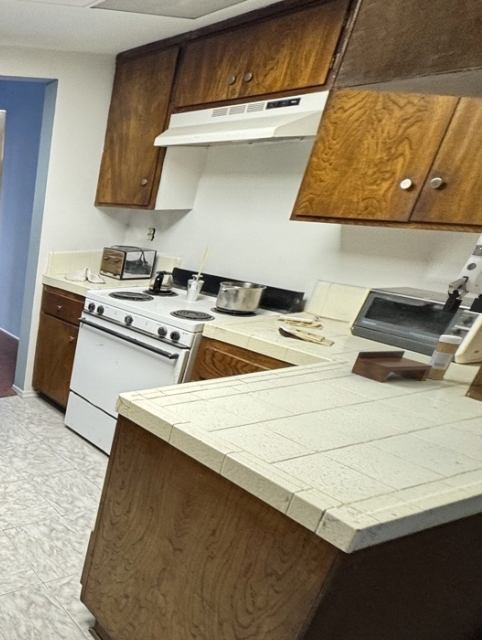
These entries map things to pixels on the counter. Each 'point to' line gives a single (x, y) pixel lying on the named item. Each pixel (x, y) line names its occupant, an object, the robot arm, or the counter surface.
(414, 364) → the shelf
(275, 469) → the counter surface
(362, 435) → the counter surface
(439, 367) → the sprinkles bottle
